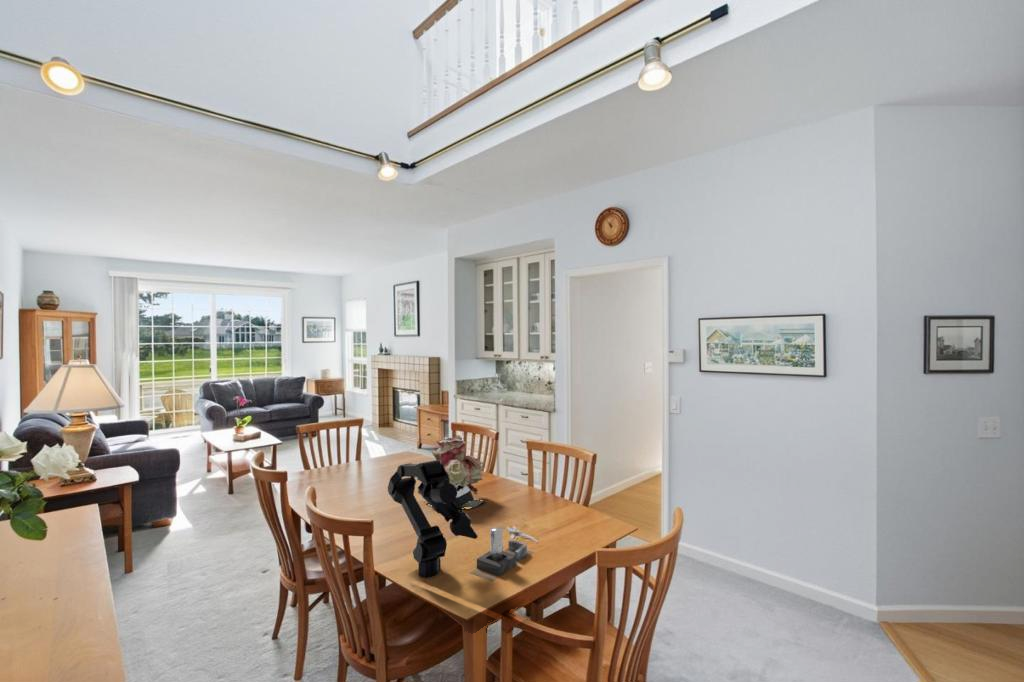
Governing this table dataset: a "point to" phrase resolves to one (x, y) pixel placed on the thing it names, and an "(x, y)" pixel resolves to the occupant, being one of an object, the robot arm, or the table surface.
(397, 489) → the robot arm
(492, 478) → the table surface
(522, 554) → the block with square hole
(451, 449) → the rose bouquet
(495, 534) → the axle
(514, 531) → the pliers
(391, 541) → the table surface
